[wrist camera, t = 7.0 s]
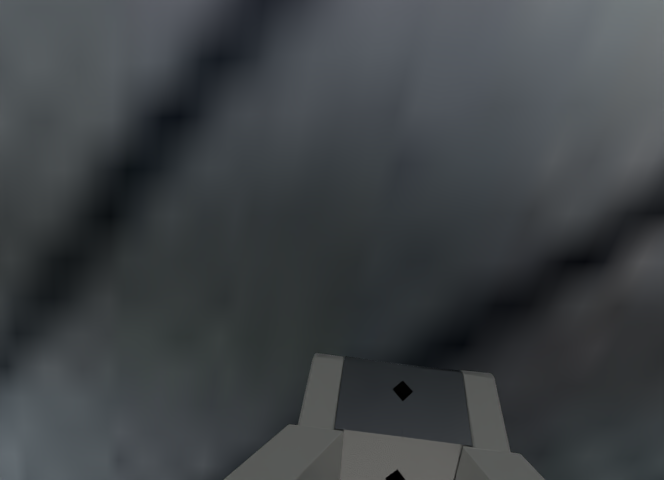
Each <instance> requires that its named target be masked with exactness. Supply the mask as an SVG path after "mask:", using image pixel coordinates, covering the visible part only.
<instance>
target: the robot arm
mask: <svg viewBox="0 0 664 480" xmlns="http://www.w3.org/2000/svg"><path fill="white" fill-rule="evenodd" d="M224 480H545V479H544V478H543V477H542V476H541V475H540V474H539V473H538V472H537V471H536V470H535V468H534V467H533V466H532V465H531V464H530V463H529V462H528V461H527V460H526V459H525V458H524V457H523V456H522V455H521V454H519V453H512V452H511V451H510V446H509V442H508V437H507V433H506V428H505V423H504V419H503V414H502V410H501V405H500V401H499V396H498V391H497V387H496V382H495V378H494V376H493V375H492V374H491V373H485V372H475V371H464V370H461V371H459V370H450V369H441V368H432V367H422V366H413V365H404V364H397V363H389V362H382V361H375V360H368V359H361V358H354V357H347V356H345V359H344V357H343V356H336V355H328V354H321V353H315V355H314V357H313V359H312V363H311V368H310V372H309V377H308V381H307V386H306V390H305V395H304V399H303V404H302V408H301V413H300V417H299V422H298V425H292V424H288V425H287V426H286V427H285V428H284V429H283V430H281V431H280V432H279V433H278V434H277V435H275V436H274V437H273V438H272V439H271V440H270V441H268V442H267V443H266V444H265V445H264V446H263V447H261V448H260V449H259V450H258V451H257V452H255V453H254V454H253V455H252V456H251V457H250V458H248V459H247V460H246V461H245V462H244V463H242V464H241V465H240V466H239V467H238V468H237V469H235V470H234V471H233V472H232V473H231V474H230V475H228V476H227V477H226V478H225V479H224Z"/></svg>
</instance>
